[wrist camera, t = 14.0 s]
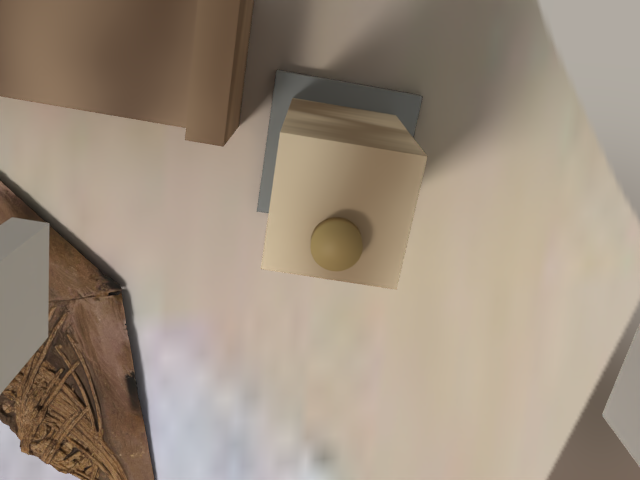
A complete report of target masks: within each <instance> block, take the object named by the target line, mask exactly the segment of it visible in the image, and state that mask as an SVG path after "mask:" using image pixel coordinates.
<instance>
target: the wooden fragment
mask: <svg viewBox="0 0 640 480" xmlns="http://www.w3.org/2000/svg"><path fill="white" fill-rule="evenodd" d="M12 217H13V218H20V219H26V220H32V221H39V222H45V221H44V220H43V219H42V218H41V217H40V216H38V215H37V214H36V212H34V211H33V210H32V209H31V208H30V207H29V206H27V205H26V204H25V203H24V202H23V201H22V200H21V199H20V198H19V197H17V196H16V195H15V194H14V193H13V192H12V191H11V190H10V189H9V188H8V187H7V186H5V185H3V183H2V182H1V181H0V225H1V224H3V223H4V222H6V221H7V220H9V219H10V218H12ZM45 223H46V222H45ZM121 290H122V288H121V286H120V285H119V284H118V283H117V282H115V281H114V280H113V279H112V278H109V277H107V276H106V275H103V274H102V273H101V271H100V270H99V269H98V268H97V267H95V266H94V265H93V264H92V263H91V262H90V261H89V260H87V259H86V258H85V257H84V256H83V255H82V254H80V253H79V252H78V251H77V250H76V249H75V248H74V247H73V246H72V245H71V244H70V243H69V242H68V241H67V240H65V239H64V238H63V237H61V236H60V234H59V233H58V232H56V231H55V230H54V229H53V228H52V227H51V226H50V225H49V307H48V338H47V339H46V340H45V341H44V343H43V344H42V345H41V346H40V347H39V349H38V350H37V351H36V352H35V353H34V355H33V356H32V357H31V358H30V359H29V361H28V362H27V363H26V364H25V365H24V367H23V368H22V369H21V370H20V371H19V373H18V374H17V375H16V376H15V377H14V379H13V380H12V381H11V382H10V383H9V385H8V386H7V387H6V388H5V389H4V391H3V392H2V393H1V394H0V420H1V421H2V422H3V423H4V424H6V425H9V426H10V429H11V430H12V431H13V432H14V433H15V434H16V435H17V437H18V438H19V439H20V440H21V442H20V447H21V452H24V453H27V454H28V455H34V456H37V457H39V458H40V459H41V460H42V461H43V462H45V463H46V464H50V465H52V466H53V467H54V468H55V469H56V470H58V471H59V472H62V473H65V474H67V473H70V474H72V475H74V476H76V477H78V478H79V479H81V480H154V475H153V470H152V465H151V458H150V454H149V447H148V441H147V436H146V431H145V425H144V420H143V415H142V411H141V406H140V401H139V398H138V391H137V386H136V384H137V383H136V380H135V371H134V366H133V359H132V353H131V348H130V341H129V338H128V335H127V332H128V331H127V329H126V327H127V326H126V325H125V324H126V320H125V312H124V307H123V300H122V293H120V294H119V295H114V296H113V295H111V296H108V293H110V292H117V291H121Z"/></svg>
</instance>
